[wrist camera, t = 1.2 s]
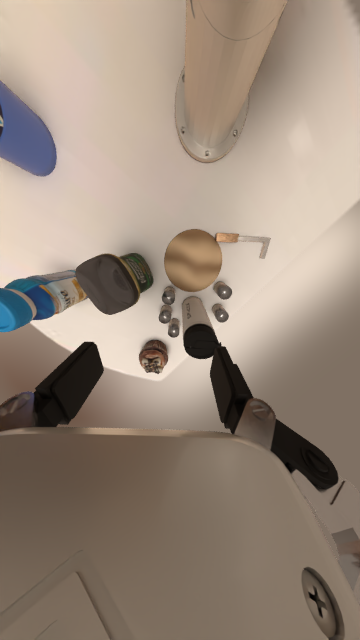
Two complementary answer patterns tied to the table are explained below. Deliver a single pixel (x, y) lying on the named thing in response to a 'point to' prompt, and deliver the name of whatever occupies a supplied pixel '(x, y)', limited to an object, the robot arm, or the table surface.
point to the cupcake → (153, 356)
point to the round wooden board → (193, 260)
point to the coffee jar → (114, 281)
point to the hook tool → (235, 238)
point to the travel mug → (197, 330)
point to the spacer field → (173, 330)
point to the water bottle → (24, 136)
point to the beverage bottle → (38, 298)
